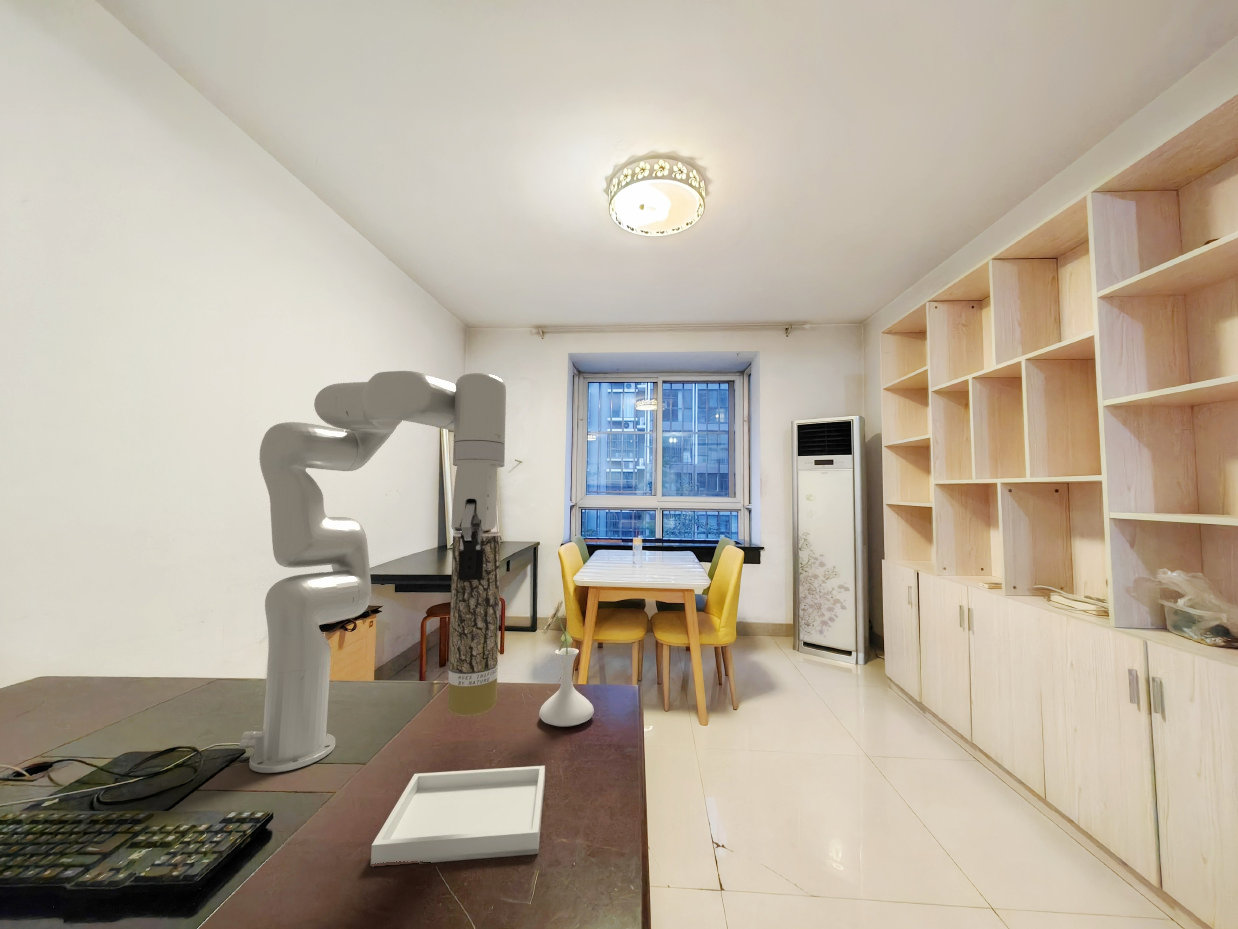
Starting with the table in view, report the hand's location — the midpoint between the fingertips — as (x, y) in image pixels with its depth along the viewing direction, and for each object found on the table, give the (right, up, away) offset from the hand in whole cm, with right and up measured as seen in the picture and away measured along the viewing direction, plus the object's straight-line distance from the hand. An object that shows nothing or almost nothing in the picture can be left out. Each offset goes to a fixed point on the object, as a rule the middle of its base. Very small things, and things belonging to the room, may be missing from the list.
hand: (476, 575), depth 69 cm
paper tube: (0, -19, -2) cm, 19 cm away
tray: (0, -33, -4) cm, 34 cm away
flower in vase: (+10, -37, +27) cm, 47 cm away
